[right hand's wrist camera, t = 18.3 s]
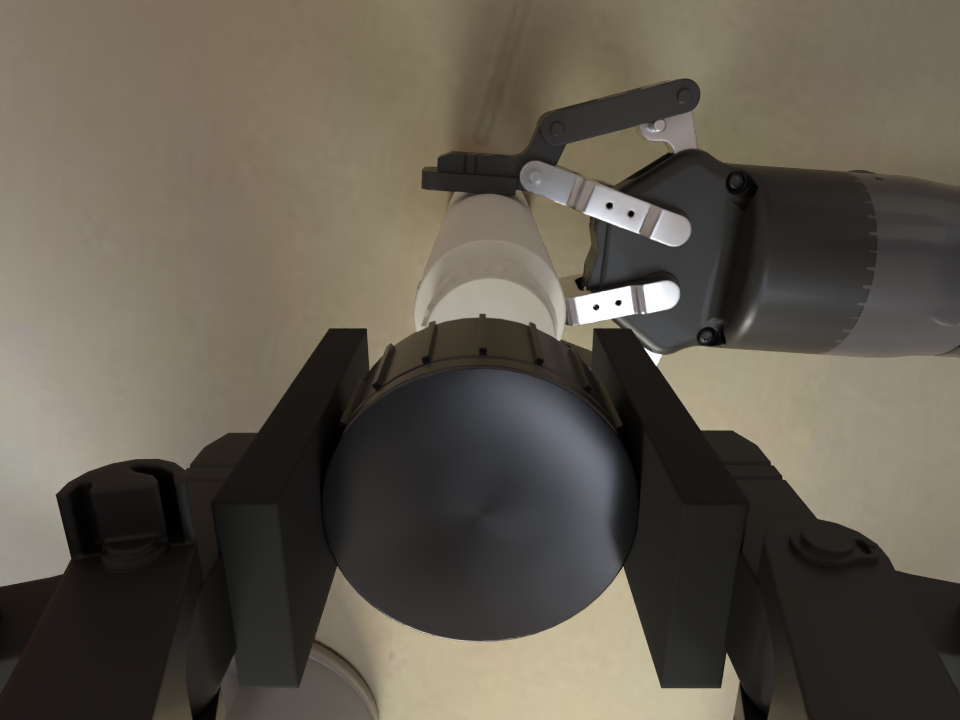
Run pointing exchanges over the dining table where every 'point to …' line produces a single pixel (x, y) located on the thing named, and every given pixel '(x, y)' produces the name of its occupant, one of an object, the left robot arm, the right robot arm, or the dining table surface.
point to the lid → (480, 483)
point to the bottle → (490, 266)
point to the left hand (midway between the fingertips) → (423, 237)
